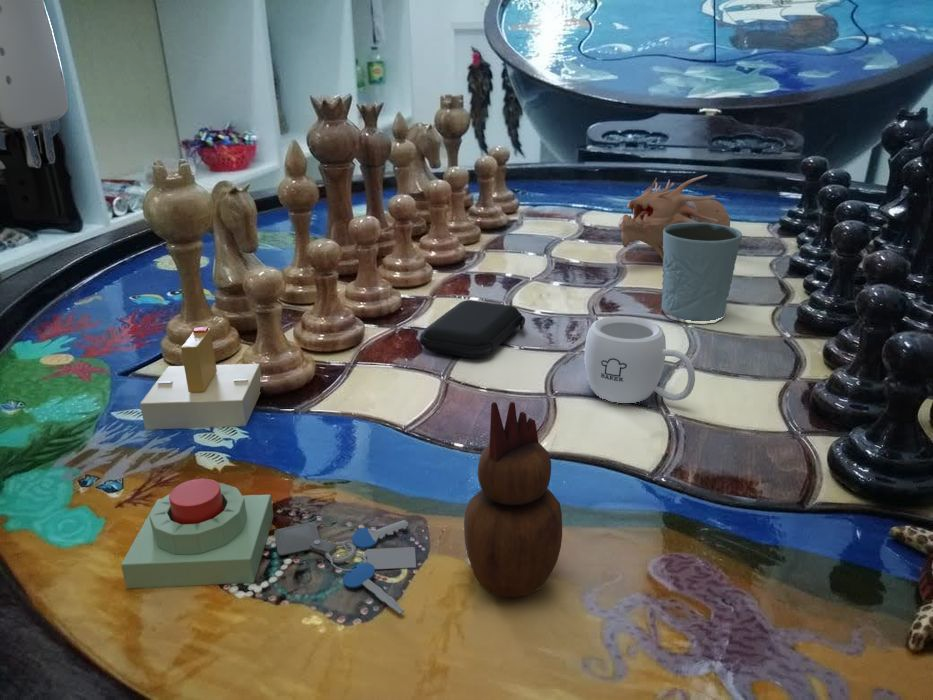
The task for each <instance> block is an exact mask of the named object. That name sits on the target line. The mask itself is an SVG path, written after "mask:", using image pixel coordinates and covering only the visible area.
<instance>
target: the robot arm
mask: <svg viewBox="0 0 933 700" xmlns="http://www.w3.org/2000/svg"><path fill="white" fill-rule="evenodd" d="M46 7H47V6H46V4H45V1H44V0H0V170H1V173H2V176H3V179H4V183H5V187H6V191H7V195H8V200H9V203H10V208H11V211H12V215H13V217H14V219H16V220H17V221H36V220H37V221H39V220H40V221H41V220H42V221H45V220H54V219H56V218H58V217H60V216H62V215H64V213H65V208H64V201H63V198H62V193H61V189H60V184H59V180H58V175H57V171H56V166H55V162H56V153H55V146H54V140H53V139H54V137H55V136H56V135H57V134H58V133H59V132H60V131H61V125H60V121H59V119H61V118H62V117H63V116H64V115H65V114H66V113H67V112H68V109H69V100H68V93H67V92H68V91H67V87H66V81H65V77H64V71H63V68H62V62H61V58H60V54H59V50H58V46H57V42H56V39H55V35H54V31H53V28H52V24H51V20H50V17H49V14H48V11H47V8H46ZM2 122H3V123H2Z"/></svg>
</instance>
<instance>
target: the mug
mask: <svg viewBox="0 0 933 700" xmlns="http://www.w3.org/2000/svg"><path fill="white" fill-rule="evenodd" d="M666 341H667V340H666V335H665V333H664V330H663V328H662V327H661V326H660V325H659V324H657V323H655V322H653V321H650V320H647V319H645V318H641V317H636V316H627V315H616V316H615V315H614V316H608V317H603V318H599V319H597V320H595V321H593V322H592V323H591V325H590V327H589V329H588V330H587V333H586V338H585V345H584V369H585V374H586V378H587V382H588V384H589V387H590V389H591V390H592V392H593V393H594V394H595V396H597V397H598V396H599V397H598V398H600V399H601V398H602V399H601V400H603V399H606V400H608V401H612V402H617V403H616V404H618V403H635V404H637V403H636V402H639V403H641V402H640V401H642V402H644V401H646V400H647V399H648V398H649V397H650V396H651V395H652V394H653V393H654V392H655V393H656V394H658V395H659V396H660V397H662V398H664V399H666V400H670V401H682V400H684V399H686V398H688V397H689V396H690V394H692V391H693V389H694V387H695V382H696V372H695V368H694V366H693V364H692V361H691V359H690V358H689V357H688V356H687V355H686V353H683V352H681V351H680V350H677V349H667V344H666ZM666 357H675V358H677V359H679V360H680V361H682V363H683V364H684V366H685V368H686V371H687V382H686V385H685V387H684V389H683V390H682V391H681V392H679V393H672V392H671V393H670V392H668V391H667V390H665V389H663V388H662V387H661V386H658V385H659V382H660V380H661V377H662V375H663V371H664V367H665V362H666ZM606 400H605V401H606ZM643 400H644V401H643ZM608 401H607V402H608ZM612 402H611V403H612Z"/></svg>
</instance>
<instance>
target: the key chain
mask: <svg viewBox="0 0 933 700" xmlns="http://www.w3.org/2000/svg"><path fill="white" fill-rule="evenodd" d="M408 527H409V521H407V520H406V519H402V520H399V521H397V522H394V523H392V524H388V525H386V526H383V527H380V528H378V529H371V528H369V527H362V528H360V529H358V530H356V531H354V533H353V534H352V536H351V540H343V541H337V542H333V541H326V540H324V539H322V538H321V537H320V533H319V530H318V526H317V523H316V522H314V521H312V522H305V523H301V524H296V525H292V526H286V527H282V528H277V529H274V531H273V533H274V539H275V546H276V552H277V555H278V556H286V555H291V554H296V553H300V552H306V551H312V552H317V553H319V554H322V555H323V556H325V559H327V560H328V561H330V564H331V565H332V566H333V567H334V568H335V569H338V570H339V571H344V572H345V574H344V575H343V581H342V582H343V584H344V586H345V587H346V588H348V589H356V588H360V587H362V586H363V587H364V588H366V589H367V590H368V591H369V592H370V593H372V594H374V595H375V597H376V598H377V599H379V600H380V601H381V602H382V603H384V604H386V605H387V606H388V607H389V608H390V609H392V610H393V611H394V612H396V613H397V614H399V615H402V614H403V613H404V612H405V609H404V608H403V607H402V606H401V605H400V604H399V603H398V602H397V601H396V599H394V598H393V597H392V595H389V594H388V593H386V592H385V591H384V590H383V588H381V587H380V586H379V585H377V584H376V583H374V582H373V581H372V580H371V579H373V577H374V576H375V575H376V570H394V569H396V570H397V569H416V568H417V561H416V560H417V559H416V557H417V556H416V547H415V546H409V547H408V546H407V547H383V548H373V547H374V546H376V545H377V544H378V540H383V539H384V538H385V537H386V536H388V537H389V536H393V535H395V533H396V534H397V533H399V531H400V530H404V531H405V530H407V528H408ZM338 547H343V548H344V551H343V550H342V551H339V552H337V553H335V554H333V555H332V556H331V554H332V553H333V552H334V551H335V550H336V549H337V548H338ZM357 548H359V549H366V550H364V552H363V554H362V553H360V552H357ZM347 553H348V555H346V556H344V557H336V556H338V555H341V554H347ZM355 554H356V555H358V556H361V557H362V558H363V562H362V563H358V564H355V565H353V566H352V567H350V568H342V567H339V566H337V565H336V564H341V563H345V562H348V561H350V560H351V559H352V558H354V556H355ZM334 563H335V564H334Z"/></svg>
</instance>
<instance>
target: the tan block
mask: <svg viewBox="0 0 933 700" xmlns="http://www.w3.org/2000/svg"><path fill="white" fill-rule="evenodd" d="M180 349H181V350H180V351H181V356H182V362H183V366H184V368H185V374H186V380H187V385H188V391H189V392H204V391H205V390H206V388H207V386H208V385H209V383H210V382H211V380H212V378H213V377H214V375H215V374H216V372H217V369H216V365H217V364H216V363H217V362H216V358H215V356H216V355H215V351H214V350H215V349H214V344H213V337H212V331H211V328H209V326H197V327H196V326H195V328H194V329H193V330H192V333H190V335H189V336H188V338H187V339H186V340H185V342H184V343H183V344H182V346H181V347H180Z"/></svg>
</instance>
